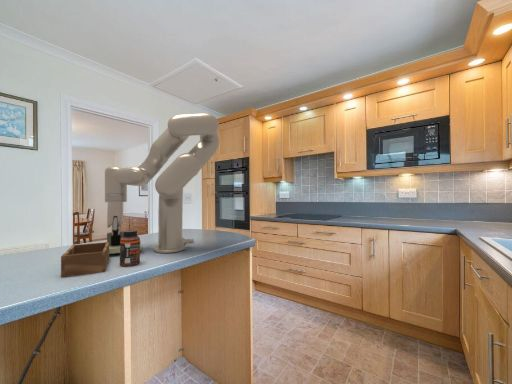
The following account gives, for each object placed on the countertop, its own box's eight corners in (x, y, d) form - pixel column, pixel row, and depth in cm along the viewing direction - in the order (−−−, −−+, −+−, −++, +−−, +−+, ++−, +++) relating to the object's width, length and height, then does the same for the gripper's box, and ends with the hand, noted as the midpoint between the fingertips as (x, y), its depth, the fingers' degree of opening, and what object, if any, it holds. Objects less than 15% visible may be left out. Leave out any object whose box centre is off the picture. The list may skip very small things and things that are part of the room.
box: (72, 262, 80) (72, 245, 80) (109, 258, 85) (109, 242, 85) (60, 277, 66) (60, 256, 66) (105, 271, 71) (105, 251, 71)
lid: (86, 256, 83) (86, 237, 83) (91, 248, 94) (91, 231, 94) (141, 250, 92) (141, 232, 92) (140, 243, 103) (140, 228, 103)
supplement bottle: (131, 267, 75) (131, 232, 75) (115, 266, 76) (115, 231, 76) (143, 261, 81) (143, 229, 81) (128, 260, 82) (128, 228, 82)
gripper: (106, 197, 98) (106, 241, 98) (102, 199, 84) (102, 250, 84) (127, 197, 102) (127, 239, 102) (126, 198, 88) (126, 247, 88)
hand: (116, 244), depth 93 cm, fingers closed on lid, 2 cm apart
